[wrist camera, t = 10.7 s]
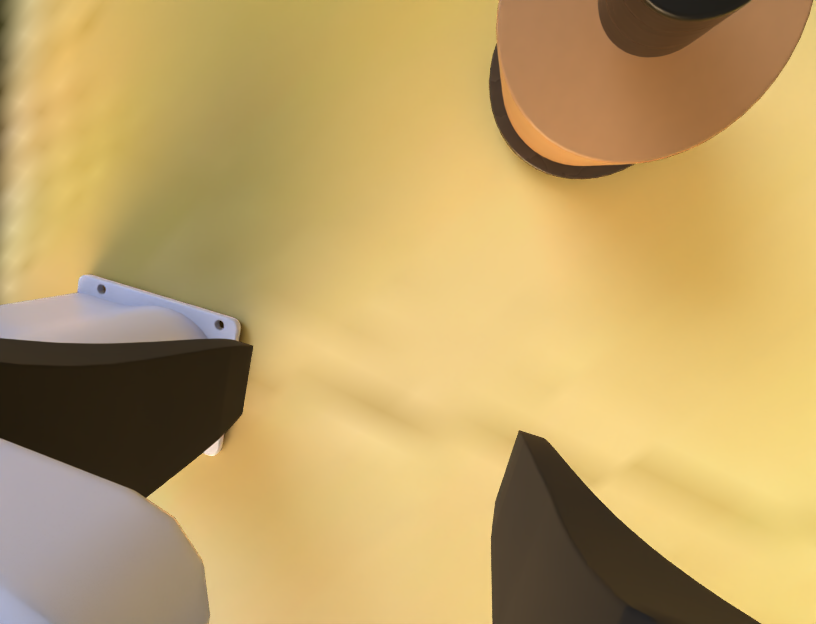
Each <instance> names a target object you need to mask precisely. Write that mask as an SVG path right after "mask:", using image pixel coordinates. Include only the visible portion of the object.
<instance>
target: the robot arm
mask: <svg viewBox="0 0 816 624" xmlns="http://www.w3.org/2000/svg"><path fill="white" fill-rule="evenodd" d="M104 286H105V288H106V292H105V290H104ZM220 321H222V322H223V323H224V328H222V327H221V326H220V324H219V322H220ZM240 331H241V325H240V323H239V321H238V320H237V319H236V318H234V317H231V316H227V315H224V314H221V313H217V312H214V311H211V310H207V309H204V308H201V307H198V306H194V305H191V304H188V303H184V302H181V301H178V300H174V299H171V298H168V297H164V296H161V295H158V294H154V293H151V292H148V291H144V290H141V289H138V288H134V287H131V286H128V285H124V284H121V283H118V282H114V281H111V280H108V279H105V278H101V277H98V276H95V275H89V274H88V275H83V276H81V277H80V278H79V281H78V293H72V294H66V295H60V296H53V297H47V298H41V299H35V300H29V301H22V302H16V303H10V304H4V305H0V624H209V618H210V612H209V603H208V595H207V587H206V579H205V571H204V565H203V561H202V559H201V557H200V556H199V554H198V552H197V551H196V549H195V548H194V546H193V545H192V543H191V542H190V540H189V539H188V537H187V535H186V534H185V532H184V531H183V529H182V528H181V526H180V525H179V523H178V522H177V520H176V518H175V517H173V516H172V515H170V514H169V513H167V512H166V511H164V510H163V509H161V508H160V507H158V506H157V505H155V504H154V503H152V502H151V501H149V500H148V499H146V497H148V496H149V495H150V494H151V493H153V492H154V491H155V490H156V489H158V488H159V487H160V486H162V485H163V484H164V483H165V482H167V481H168V480H169V479H170V478H172V477H173V476H174V475H175V474H177V473H178V472H179V471H181V470H182V469H183V468H184V467H186V466H187V465H188V464H189V463H191V462H192V461H193V460H194V459H196V458H197V457H198V456H199V455H201V454H202V453H204V454H207V455H210V456H214V455H216V454H217V453H219V452H220V451H221V449H222V445H223V438H224V434H225V433H226V431H227V430H228V429H229V428H230V427H231V426H232V425H233V424H234V423H235V422H236V421H237V419H238V418H239V417H240V416H241V415H242V412H243V406H244V400H245V393H246V387H247V381H248V375H249V369H250V363H251V356H252V350H253V346H252V345H249V344H245V343H242V342H239V337H240ZM491 571H492V619H493V624H761V623H759V622H758V621H756V620H754V619H753V618H751V617H750V616H748V615H747V614H745V613H743V612H742V611H740V610H739V609H737V608H735V607H734V606H732V605H731V604H729V603H728V602H726V601H724V600H723V599H721V598H720V597H719V596H717V595H716V594H714V593H713V592H711V591H710V590H708V589H707V588H705V587H704V586H702V585H701V584H699V583H698V582H697V581H695V580H694V579H692V578H691V577H690V576H688V575H687V574H686V573H684V572H683V571H682V570H680V569H679V568H678V567H676V566H675V565H673V564H672V563H671V562H669V561H668V560H667V559H665V558H664V557H663V556H662V555H660V554H659V553H658V552H657V551H655V550H654V549H653V548H652V547H650V546H649V545H648V544H647V543H646V542H644V541H643V540H642V539H641V538H640V537H639V536H638V535H636V534H635V533H634V532H633V531H632V530H631V529H629V528H628V527H627V526H626V525H625V524H624V523H623V522H622V521H621V520H619V519H618V518H617V517H616V516H615V515H614V514H613V513H612V512H611V511H610V510H609V509H608V508H607V507H606V506H605V505H604V504H603V503H602V502H601V501H600V500H599V499H598V498H597V497H596V496H595V495H594V494H593V492H592V491H591V490H590V489H589V488H588V487H587V486H586V485H585V484H584V483H583V481H582V480H581V479H580V478H579V477H578V476H577V475H576V474H575V472H574V471H573V470H572V469H571V468H570V467H569V465H568V464H567V463H566V462H565V461H564V459H563V458H562V457H561V456H560V455H559V454H558V452H557V451H556V450H555V449H554V448H553V447H552V445H551V444H550V443H549V442H548V441H547V440H546V439H544V438H542V437H538V436H535V435H532V434H529V433H526V432H523V431H520V430H519V432H518V435H517V438H516V441H515V444H514V447H513V450H512V453H511V456H510V459H509V462H508V465H507V468H506V471H505V474H504V477H503V480H502V483H501V486H500V489H499V492H498V495H497V498H496V501H495V509H494V517H493V525H492V535H491Z"/></svg>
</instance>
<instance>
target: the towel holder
mask: <svg viewBox="0 0 816 624" xmlns="http://www.w3.org/2000/svg"><path fill="white" fill-rule="evenodd" d="M812 3H813V0H499V3H498V10H497V24H496V34H497V43H496V47H495V50H494V53H493V57H492V62H491V68H490V79H489V90H490V101H491V106H492V111H493V114H494V118H495V121H496V124H497V126H498V128H499V130H500V133H501V135H502V136H503V138H504V139H505V141H506V143H507V144H508V146H509V147H510V148H511V149H512V150H513V151H514V152H515V154H516V155H518V156H519V157H520V158H521V159H522V160H523V161H524V162H526V163H527V164H529V165H530V166H532V167H534V168H535V169H537V170H540V171H542V172H544V173H547V174H550V175H553V176H557V177H563V178H569V179H589V178H598V177H602V176H606V175H611V174H613V173H616V172H619V171H622V170H624V169H626V168H628V167H630V166H632V165H634V164H636V163H644V162H651V161H655V160H659V159H663V158H668V157H671V156H673V155H676V154H679V153H682V152H684V151H687V150H689V149H691V148H693V147H695V146H697V145H699V144H702V143H704V142H706V141H707V140H709V139H711V138H712V137H714V136H715V135H717V134H718V133H720V132H722V131H723V130H725V129H726V128H727V127H729V126H730V125H731V124H732V123H734V122H735V121H736V120H737V119H739V118H740V117H741V116H743V115H744V114H745V113H746V112H747V111H748V110H749V109H750V108H751V107H752V106H753V105H754V104H755V103H756V102H757V101H758V100H759V99H760V98H761V97H762V96H763V94H764V93H765V92H766V91H767V90H768V88H769V87H770V86H771V85H772V84H773V82H774V81H775V80H776V78H777V77H778V75H779V74H780V72H781V71H782V69H783V68H784V66H785V65H786V63H787V62H788V60H789V59H790V57H791V55H792V53H793V51H794V49H795V47H796V45H797V43H798V41H799V39H800V37H801V35H802V32H803V30H804V27H805V25H806V22H807V19H808V17H809V14H810V10H811V6H812Z"/></svg>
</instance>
